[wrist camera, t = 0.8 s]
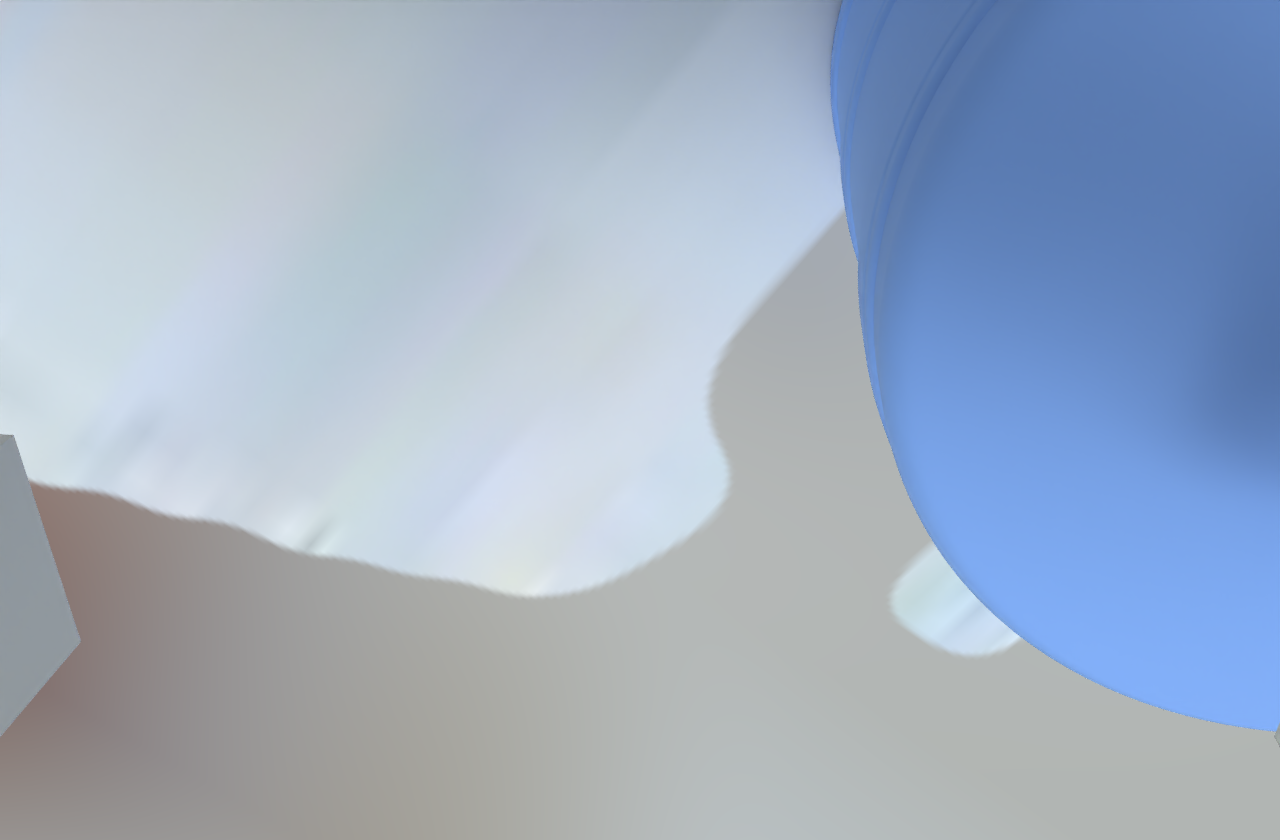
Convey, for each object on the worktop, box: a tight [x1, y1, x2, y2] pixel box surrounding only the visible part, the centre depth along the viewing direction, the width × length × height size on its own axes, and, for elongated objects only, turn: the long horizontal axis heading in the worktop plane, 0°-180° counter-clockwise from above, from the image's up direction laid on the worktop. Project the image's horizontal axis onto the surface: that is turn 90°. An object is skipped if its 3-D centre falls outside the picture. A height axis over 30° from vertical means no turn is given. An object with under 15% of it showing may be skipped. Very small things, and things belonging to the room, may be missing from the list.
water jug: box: [830, 0, 1280, 732], centre depth 21 cm, size 16×16×28 cm
